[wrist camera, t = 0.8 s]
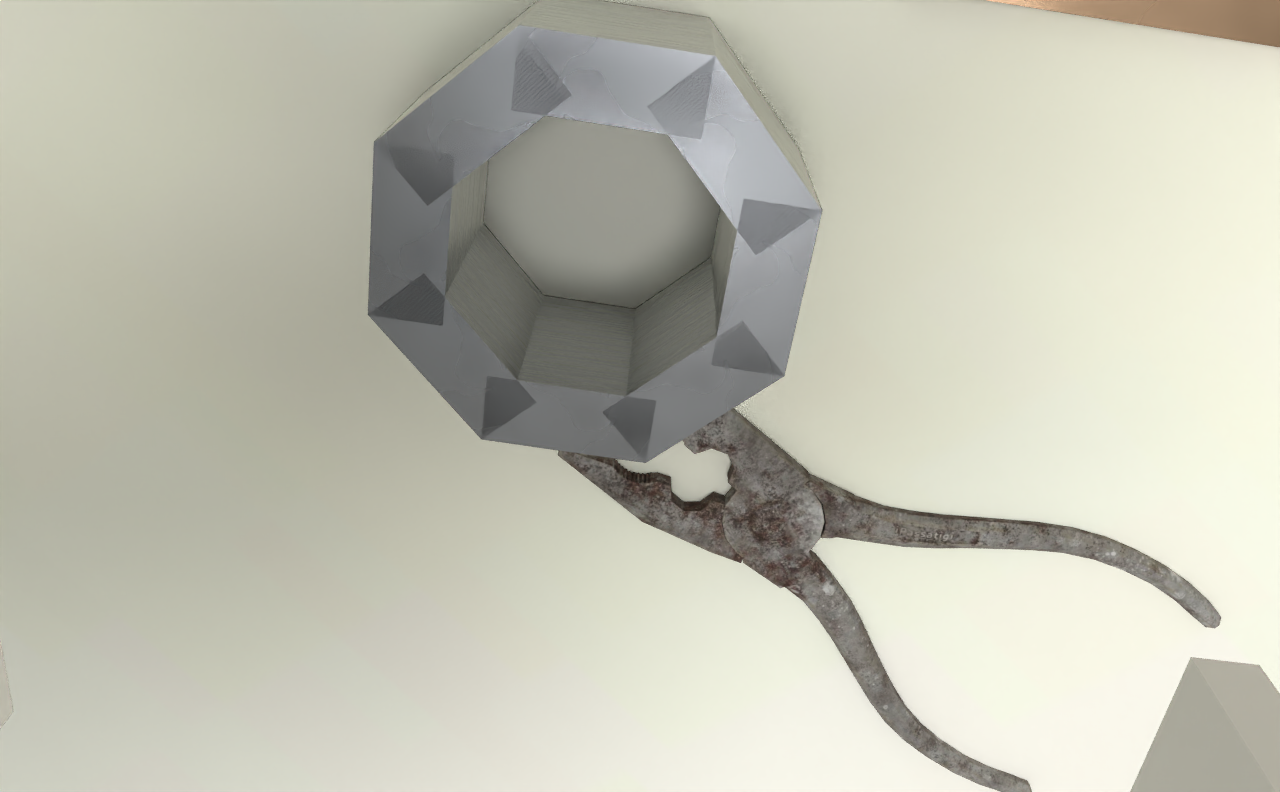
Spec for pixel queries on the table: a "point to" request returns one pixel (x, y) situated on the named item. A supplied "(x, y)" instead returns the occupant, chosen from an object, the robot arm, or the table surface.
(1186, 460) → the table surface
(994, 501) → the table surface
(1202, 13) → the piston post
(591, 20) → the ring
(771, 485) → the pliers
